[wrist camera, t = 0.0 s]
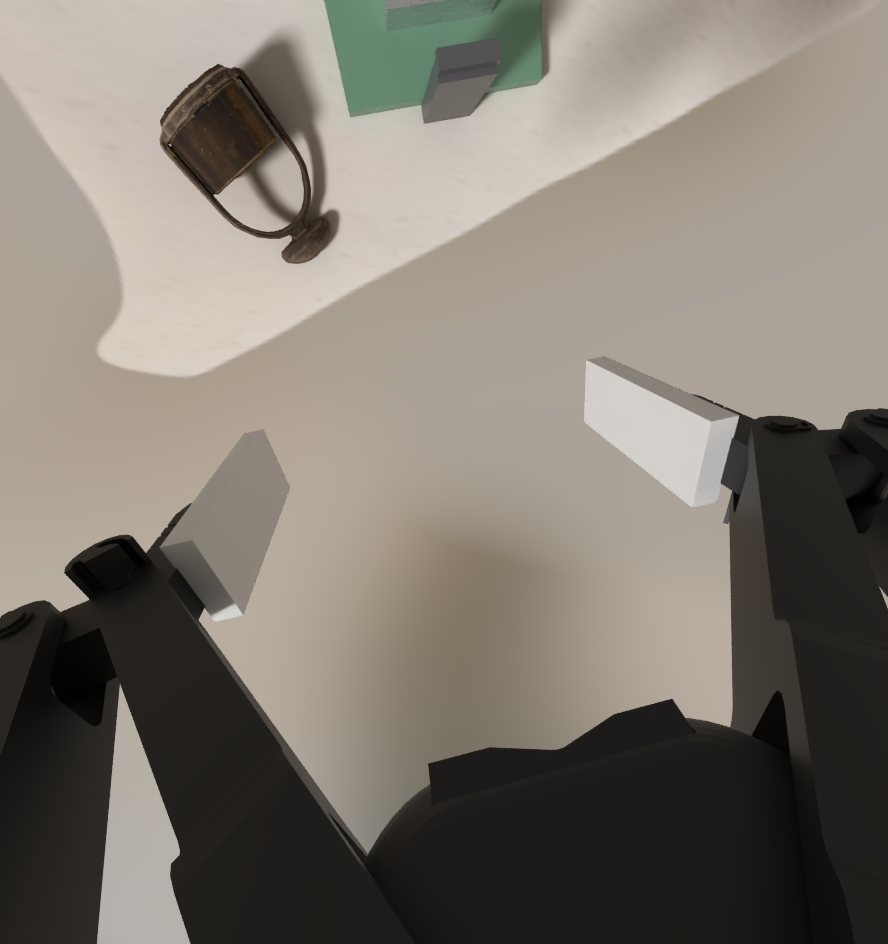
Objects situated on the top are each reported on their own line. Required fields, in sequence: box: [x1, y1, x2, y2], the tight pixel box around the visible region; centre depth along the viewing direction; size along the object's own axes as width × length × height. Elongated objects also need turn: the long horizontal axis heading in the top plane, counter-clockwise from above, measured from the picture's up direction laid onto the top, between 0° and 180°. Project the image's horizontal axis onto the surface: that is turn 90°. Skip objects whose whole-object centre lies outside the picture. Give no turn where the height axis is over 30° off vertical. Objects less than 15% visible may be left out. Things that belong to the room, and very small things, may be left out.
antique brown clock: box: [160, 64, 330, 264], centre depth 29 cm, size 7×13×10 cm
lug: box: [421, 37, 501, 124], centre depth 28 cm, size 1×4×9 cm, turn 99°
